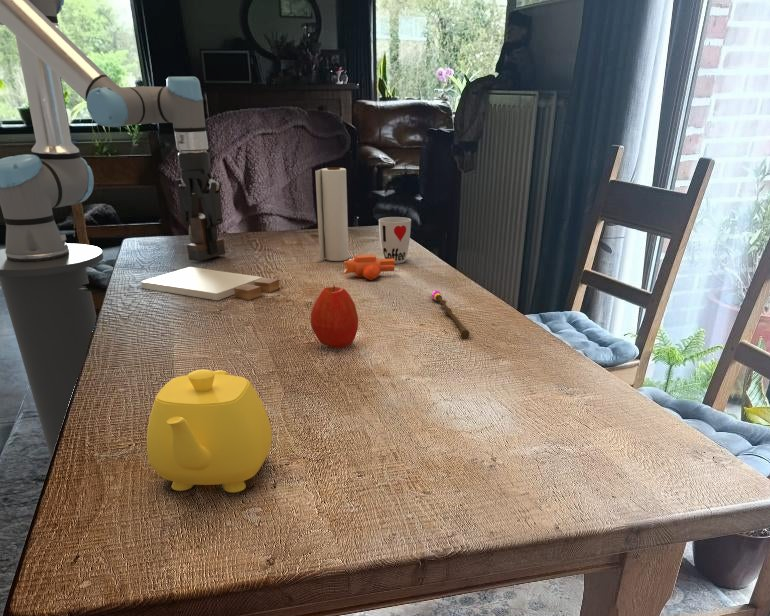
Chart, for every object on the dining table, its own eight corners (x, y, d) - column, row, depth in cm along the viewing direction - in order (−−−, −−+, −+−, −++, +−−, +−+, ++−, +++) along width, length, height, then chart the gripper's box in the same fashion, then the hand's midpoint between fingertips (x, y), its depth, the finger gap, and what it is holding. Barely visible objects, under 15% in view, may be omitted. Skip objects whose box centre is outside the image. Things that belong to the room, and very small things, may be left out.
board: (142, 288, 160) (140, 281, 159) (190, 273, 172) (189, 266, 171) (217, 300, 151) (216, 293, 150) (263, 283, 163) (262, 277, 162)
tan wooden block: (254, 290, 157) (253, 281, 156) (264, 286, 160) (263, 277, 159) (270, 292, 156) (269, 283, 155) (279, 288, 159) (278, 279, 158)
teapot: (285, 443, 92) (277, 348, 86) (249, 526, 75) (235, 416, 69) (183, 440, 93) (166, 346, 86) (124, 522, 76) (98, 413, 70)
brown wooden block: (235, 297, 153) (234, 287, 152) (248, 293, 156) (247, 284, 155) (248, 300, 151) (247, 290, 150) (261, 295, 154) (260, 286, 153)
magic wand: (469, 341, 129) (435, 296, 154) (474, 331, 128) (438, 287, 153) (458, 338, 128) (425, 293, 153) (462, 328, 127) (429, 284, 152)
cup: (376, 264, 178) (375, 222, 173) (382, 257, 185) (381, 216, 180) (408, 265, 177) (408, 223, 172) (412, 258, 184) (413, 217, 179)
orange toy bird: (393, 248, 167) (342, 250, 165) (398, 266, 162) (346, 268, 160) (391, 268, 170) (342, 270, 169) (397, 285, 166) (346, 288, 164)
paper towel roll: (349, 256, 186) (346, 166, 175) (348, 261, 181) (345, 169, 170) (322, 256, 186) (317, 166, 175) (319, 261, 181) (315, 169, 170)
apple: (307, 352, 122) (303, 289, 117) (318, 337, 129) (314, 277, 124) (354, 354, 121) (352, 291, 116) (362, 339, 128) (361, 278, 123)
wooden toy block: (189, 260, 180) (183, 219, 175) (215, 252, 188) (209, 213, 183) (199, 261, 179) (193, 220, 174) (225, 253, 186) (220, 214, 181)
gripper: (156, 151, 171) (172, 252, 183) (209, 154, 164) (222, 258, 177) (178, 148, 177) (192, 247, 189) (230, 151, 170) (241, 253, 182)
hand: (206, 252), depth 183 cm, fingers closed on wooden toy block, 3 cm apart
